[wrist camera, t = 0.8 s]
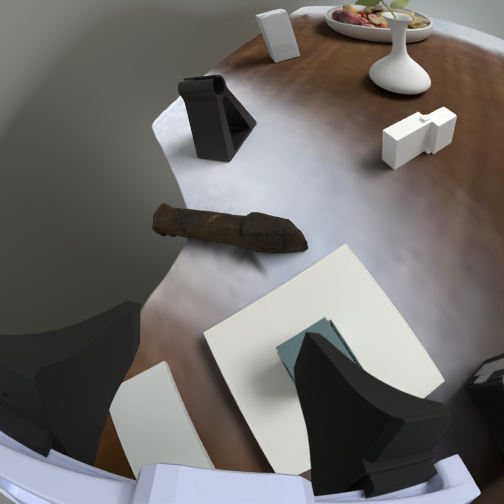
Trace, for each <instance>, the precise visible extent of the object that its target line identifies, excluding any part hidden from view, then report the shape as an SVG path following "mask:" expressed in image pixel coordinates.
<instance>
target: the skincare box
mask: <svg viewBox="0 0 504 504" xmlns="http://www.w3.org/2000/svg"><path fill="white" fill-rule="evenodd" d="M256 19H257V21H258V24H259V26H260V29H261V31H262V34H263V37H264V39H265V42H266V45H267V48H268V50H269V53H270V56H271V58H272V59H273V60H274V62H275V63H277V62H280V61H284V60H288V59H291V58H295V57H299V56H300V54H299V50H298V46H297V43H296V39H295V36H294V33H293V29H292V26H291V23H290V20H289V17H288V14H287V11H285V10H283V9H277V10H273V11H269V12H266V13H262V14H258V15H256Z"/></svg>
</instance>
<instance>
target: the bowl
mask: <svg viewBox="0 0 504 504" xmlns="http://www.w3.org/2000/svg"><path fill="white" fill-rule="evenodd" d="M387 6H388V7H389V8H390V6H391V5H387ZM391 10H392V12H397V13H402V14H406V15H409V16H411V17H412V18H413V19H412V20H411V22H410V23H409V24H408V27H407V30H406V43H410V42H417V41H421V40H424V39H426V38H427V37H428V36H430V34H431V33H432V30H433V22H432V21H431V20H430V19H429V18H428V17H426V16H424V15H422V14H420V13H418V12H415V11H412V10H409V9H406V8H399V9H391ZM384 12H390V11H389V10H388V8H387V7H386V6H385V5H384V4H378V5H376V6H375V7H366V6H361V5H355V4H347V5H342V6H337V7H334V8H331V9H329V10H327V11H326V12H325V13H324V17H325V20H326V22H327V24H328V25H329V26H330V27H331V28H332V29H333V30H335V31H337V32H339V33H341V34H343V35H346V36H349V37H353V38H357V39H362V40H368V41H375V42H386V43H393V41H392V34H391V30H390V27H389V25H388V23H387V21H386V20H385V18H384V17H383V16H382V15H381V14H382V13H384Z"/></svg>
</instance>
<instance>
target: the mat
mask: <svg viewBox="0 0 504 504" xmlns="http://www.w3.org/2000/svg"><path fill="white" fill-rule="evenodd" d="M109 411H110V414H111V417H112V420H113V423H114V426H115V428H116V431H117V434H118V437H119V439H120V442H121V444H122V447H123V449H124V452H125V454H126V457H127V459H128V462H129V464H130V466H131V468H132V471H133V473H134V475H135V477H136V479H137V477H138V474H139V472H140V470H141V468H142V467H143V466H146V465H150V464H155V463H160V462H162V463H173V464H183V465H189V466H195V467H202V468H209V469H215V467H214V465H213V464H212V462H211V460H210V458H209V456H208V454H207V452H206V450H205V448H204V446H203V444H202V442H201V440H200V438H199V436H198V434H197V432H196V430H195V428H194V426H193V423H192V421H191V419H190V417H189V415H188V412H187V410H186V408H185V406H184V403H183V401H182V399H181V396H180V394H179V392H178V389H177V387H176V384H175V382H174V379H173V377H172V374H171V372H170V369H169V367H168V364H167V362H165V361H163V362H161V363H159V364H157V365H156V366H154V367H152V368H150V369H148V370H146V371H144V372H142V373H140V374H139V375H137V376H135V377H133V378H131V379H129V380H127V381H125V382H123V383H121V385H120V387H119V389H118V391H117V393H116V395H115V397H114V399H113V401H112V404H111V406H110V409H109Z"/></svg>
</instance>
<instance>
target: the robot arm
mask: <svg viewBox="0 0 504 504" xmlns="http://www.w3.org/2000/svg"><path fill="white" fill-rule="evenodd" d="M140 307H141V304H139V303H135V302H130V301H126V302H124V303H121V304H119V305H117V306H115V307H114V308H111V309H109V310H107V311H105V312H103V313H101V314H99V315H97V316H94V317H92V318H90V319H88V320H85V321H83V322H80V323H78V324H75V325H72V326H69V327H65V328H62V329H58V330H53V331H49V332H43V333H38V334H29V335H0V492H1V493H2V494H3V495H5V496H6V497H7V498H9V499H10V500H12V501H13V502H15V503H16V504H469V503H470V502H471V501H473V500H474V499H475V498H476V497H478V496H479V495H480V493H481V492H480V490H479V489H478V487H477V485H476V483H475V482H474V480H473V478H472V477H471V475H470V473H469V471H468V470H467V468H466V467H465V465H464V463H463V462H462V460H461V458H460V457H459V455H458V454H456V455H453V456H451V457H448V458H445V459H442V460H440V461H438V462H437V463H435V464H434V465H433V463H432V461H431V459H432V458H433V457H434V453H433V451H432V450H431V449H432V448H433V447H434V446H435V445H436V444H437V442H438V441H439V440H440V439H441V438H442V437H443V435H444V434H445V433H446V431H447V430H448V428H449V426H450V424H451V419H452V417H451V415H450V413H449V412H448V410H447V409H446V408H445V406H444V405H443V404H442V403H439V402H435V401H431V400H427V399H423V398H420V397H417V396H414V395H411V394H408V393H406V392H403V391H401V390H399V389H396V388H394V387H392V386H390V385H388V384H386V383H384V382H383V381H381V380H379V379H377V378H376V377H374V376H373V375H371V374H369V373H368V372H366V371H365V370H364V369H362V368H361V367H359V366H358V365H357V364H355V363H354V362H353V361H352V360H350V359H349V358H348V357H347V356H346V355H344V354H343V353H342V352H341V351H340V350H339V349H337V348H336V347H335V346H334V345H333V344H332V343H331V342H329V341H328V340H327V339H326V338H325V337H323V336H322V335H321V334H319V333H313V332H306V333H305V336H304V339H303V342H302V345H301V348H300V351H299V354H298V356H297V359H296V362H295V365H294V378H295V386H296V391H297V394H298V398H299V402H300V406H301V410H302V413H303V417H304V421H305V425H306V429H307V435H308V443H309V452H310V463H311V482H309V481H308V480H306V479H304V478H303V477H301V476H299V475H291V474H283V473H253V472H238V471H226V470H217V469H209V468H202V467H195V466H189V465H183V464H173V463H162V462H160V463H155V464H150V465H146V466H143V467H142V468H141V470H140V472H139V474H138V477H137V481H136V480H132V479H129V478H125V477H122V476H119V475H115V474H112V473H109V472H106V471H103V470H101V469H98V468H95V467H94V463H95V458H96V454H97V449H98V445H99V441H100V438H101V434H102V431H103V427H104V424H105V421H106V418H107V415H108V412H109V409H110V406H111V404H112V401H113V399H114V397H115V395H116V393H117V391H118V389H119V387H120V385H121V383H122V381H123V379H124V378H125V376H126V374H127V372H128V370H129V368H130V366H131V364H132V362H133V360H134V358H135V355H136V352H137V350H138V347H139V344H140ZM311 484H312V485H311Z"/></svg>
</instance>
